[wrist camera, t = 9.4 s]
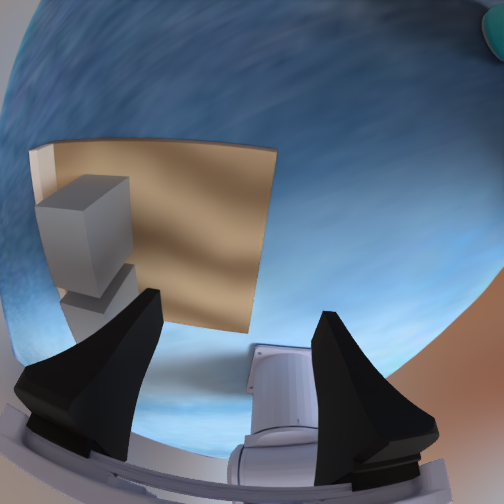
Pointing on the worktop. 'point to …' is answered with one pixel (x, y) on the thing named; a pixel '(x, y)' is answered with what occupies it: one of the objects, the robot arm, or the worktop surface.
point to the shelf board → (187, 219)
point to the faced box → (99, 304)
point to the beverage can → (494, 30)
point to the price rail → (44, 177)
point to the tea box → (87, 232)
